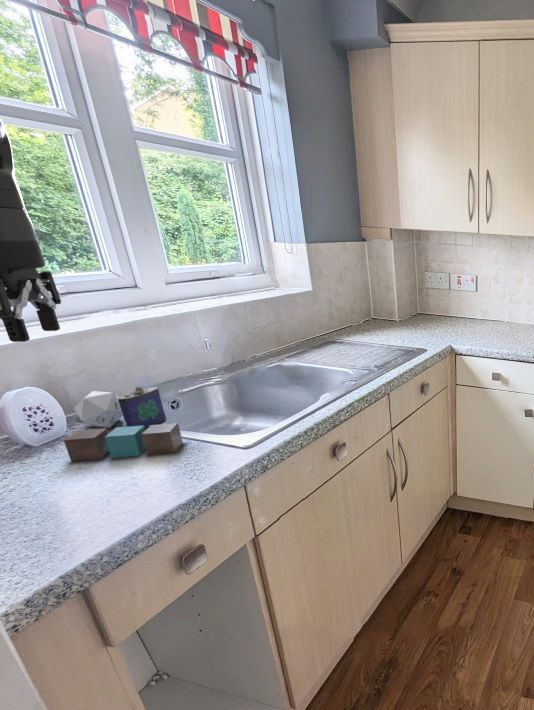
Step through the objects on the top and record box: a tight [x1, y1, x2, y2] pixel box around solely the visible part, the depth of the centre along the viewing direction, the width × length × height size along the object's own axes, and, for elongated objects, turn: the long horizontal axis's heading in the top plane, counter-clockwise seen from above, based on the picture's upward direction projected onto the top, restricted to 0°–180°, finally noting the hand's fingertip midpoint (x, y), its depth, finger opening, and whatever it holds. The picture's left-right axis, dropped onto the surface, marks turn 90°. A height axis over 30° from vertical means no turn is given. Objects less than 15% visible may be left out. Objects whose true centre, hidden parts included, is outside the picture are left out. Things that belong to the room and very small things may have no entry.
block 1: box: [63, 427, 110, 463], centre depth 96 cm, size 5×5×5 cm
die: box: [73, 390, 124, 429], centre depth 109 cm, size 8×9×10 cm
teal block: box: [105, 426, 146, 459], centre depth 98 cm, size 5×5×5 cm
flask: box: [118, 385, 167, 431], centre depth 109 cm, size 9×3×11 cm, turn 171°
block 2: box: [142, 422, 184, 456], centre depth 100 cm, size 5×5×5 cm
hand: (36, 335), depth 79 cm, fingers open, 8 cm apart
